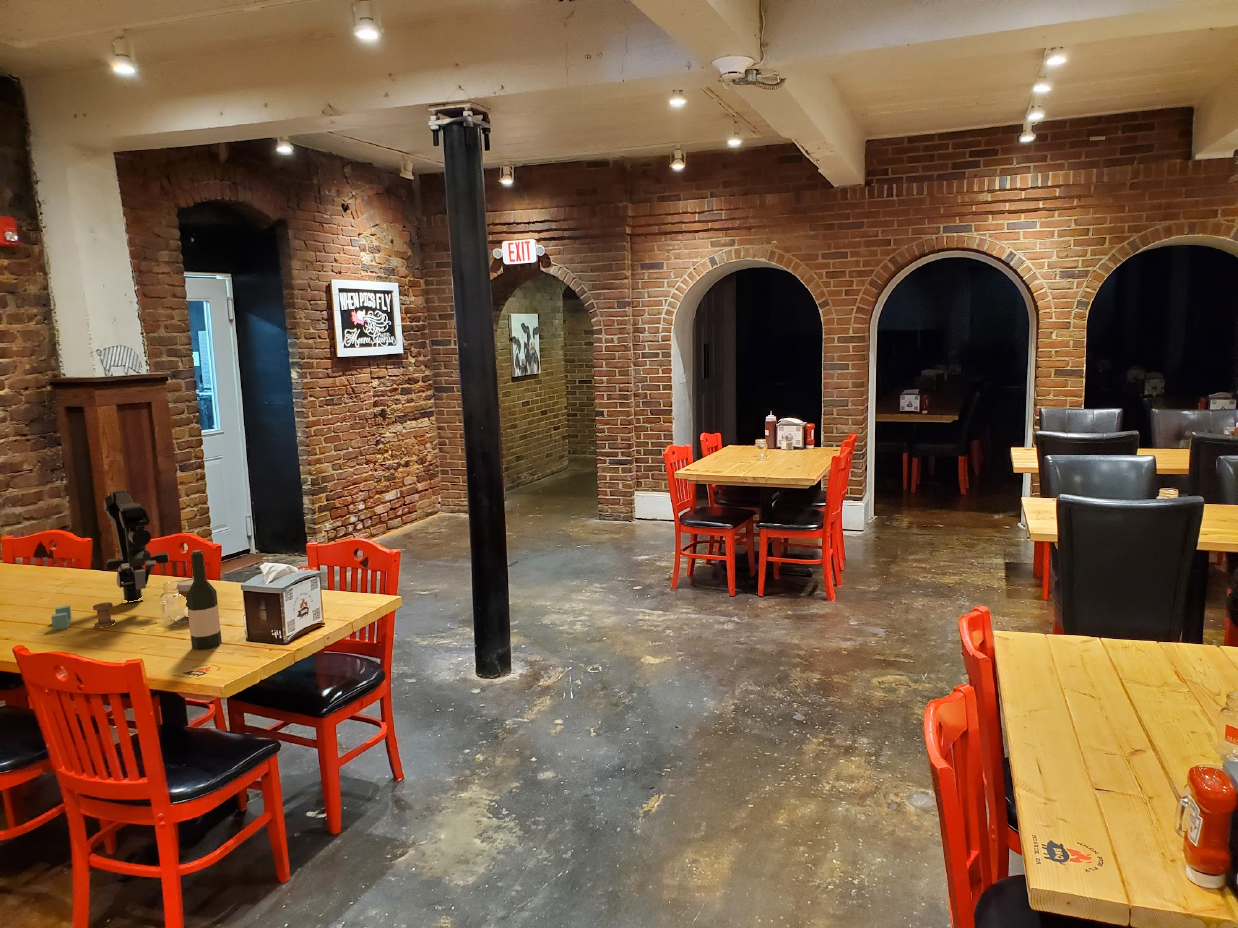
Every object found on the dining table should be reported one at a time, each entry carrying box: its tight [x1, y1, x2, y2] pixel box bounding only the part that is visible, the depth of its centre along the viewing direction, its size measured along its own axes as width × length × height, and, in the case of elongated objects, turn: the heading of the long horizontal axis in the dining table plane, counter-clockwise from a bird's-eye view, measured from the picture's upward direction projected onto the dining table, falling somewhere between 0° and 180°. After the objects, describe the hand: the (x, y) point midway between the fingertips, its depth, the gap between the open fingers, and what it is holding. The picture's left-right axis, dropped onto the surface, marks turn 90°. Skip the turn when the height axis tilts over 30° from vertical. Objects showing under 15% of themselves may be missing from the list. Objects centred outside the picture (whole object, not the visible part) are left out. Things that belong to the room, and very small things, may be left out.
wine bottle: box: [186, 549, 223, 651], centre depth 255 cm, size 8×8×30 cm
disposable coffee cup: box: [175, 577, 194, 606], centre depth 287 cm, size 10×10×12 cm
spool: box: [92, 602, 116, 629], centre depth 279 cm, size 6×6×7 cm
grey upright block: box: [134, 568, 147, 590], centre depth 293 cm, size 4×3×6 cm
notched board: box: [51, 604, 73, 632], centre depth 281 cm, size 12×4×5 cm, turn 27°
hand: (141, 584), depth 293 cm, fingers closed on grey upright block, 3 cm apart
